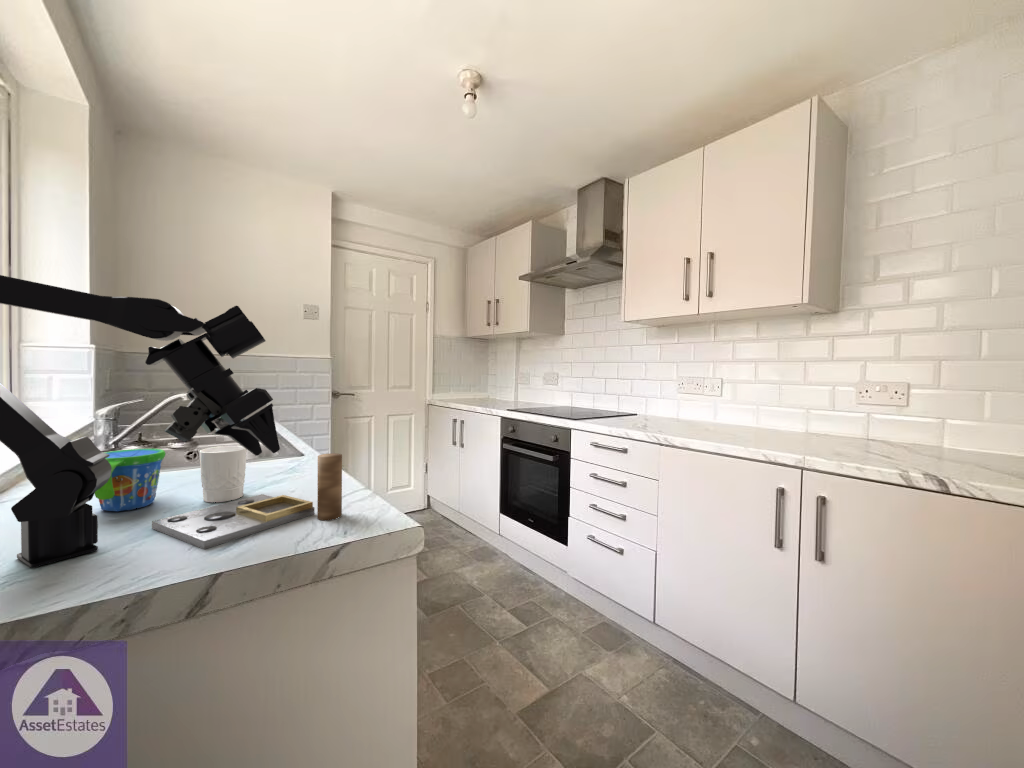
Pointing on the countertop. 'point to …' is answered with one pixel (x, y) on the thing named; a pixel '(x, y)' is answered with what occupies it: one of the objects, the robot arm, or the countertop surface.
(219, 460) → the white cup
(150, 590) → the countertop surface
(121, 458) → the snack cup
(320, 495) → the dowel
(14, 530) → the countertop surface
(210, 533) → the flange plate
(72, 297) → the robot arm
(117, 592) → the countertop surface
